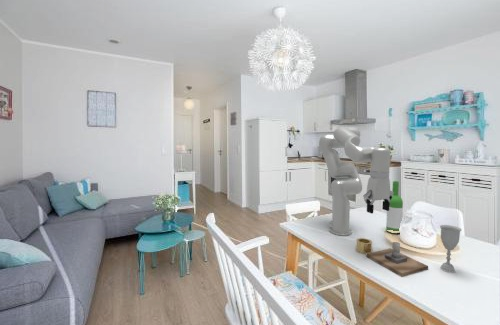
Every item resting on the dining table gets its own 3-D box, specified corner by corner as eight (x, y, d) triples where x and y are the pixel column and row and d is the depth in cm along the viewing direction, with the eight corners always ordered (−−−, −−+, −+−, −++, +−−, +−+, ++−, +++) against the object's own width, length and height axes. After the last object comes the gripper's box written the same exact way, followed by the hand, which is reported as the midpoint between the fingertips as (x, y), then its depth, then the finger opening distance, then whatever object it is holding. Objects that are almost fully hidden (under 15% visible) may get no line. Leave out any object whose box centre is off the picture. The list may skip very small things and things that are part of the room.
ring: (353, 249, 122) (353, 239, 122) (363, 246, 124) (364, 237, 124) (363, 254, 116) (364, 244, 115) (374, 252, 118) (375, 242, 118)
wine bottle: (398, 235, 137) (400, 183, 134) (383, 232, 143) (385, 181, 140) (403, 232, 142) (405, 181, 139) (389, 228, 148) (391, 179, 145)
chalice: (449, 275, 98) (452, 231, 96) (433, 266, 104) (435, 226, 103) (463, 272, 100) (466, 229, 98) (445, 264, 106) (448, 224, 105)
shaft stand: (366, 256, 114) (366, 238, 113) (390, 251, 119) (391, 233, 118) (401, 276, 97) (402, 255, 97) (427, 269, 103) (429, 248, 102)
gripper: (386, 172, 118) (384, 207, 120) (358, 175, 112) (357, 211, 114) (400, 174, 111) (398, 211, 113) (372, 177, 105) (370, 216, 107)
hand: (377, 211), depth 113 cm, fingers open, 9 cm apart
